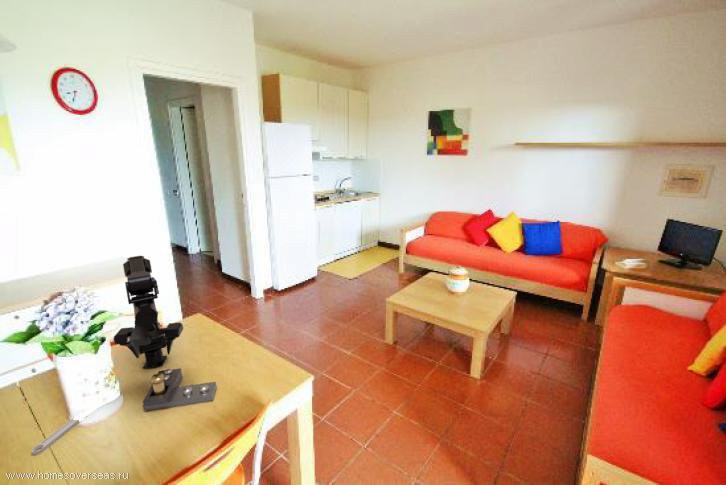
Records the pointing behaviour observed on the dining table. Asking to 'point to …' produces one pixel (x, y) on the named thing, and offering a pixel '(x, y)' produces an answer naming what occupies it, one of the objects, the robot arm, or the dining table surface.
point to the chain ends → (178, 392)
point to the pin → (158, 384)
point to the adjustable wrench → (55, 436)
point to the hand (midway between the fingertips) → (153, 355)
